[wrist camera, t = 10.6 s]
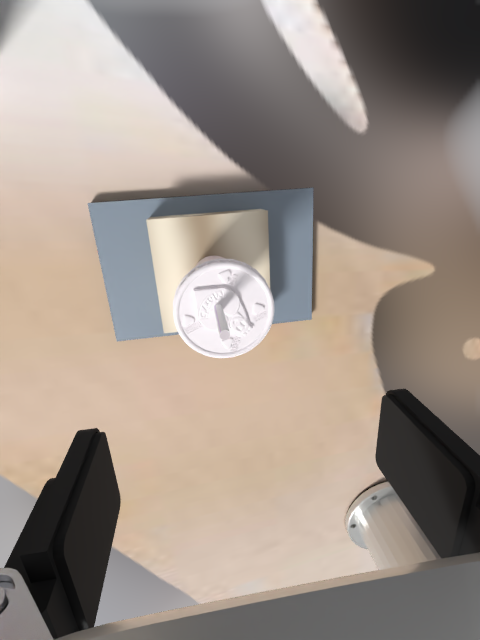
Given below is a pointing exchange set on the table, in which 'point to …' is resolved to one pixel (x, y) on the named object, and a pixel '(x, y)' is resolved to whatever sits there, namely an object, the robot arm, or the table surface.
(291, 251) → the board
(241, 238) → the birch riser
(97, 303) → the table surface
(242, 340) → the smoothie
